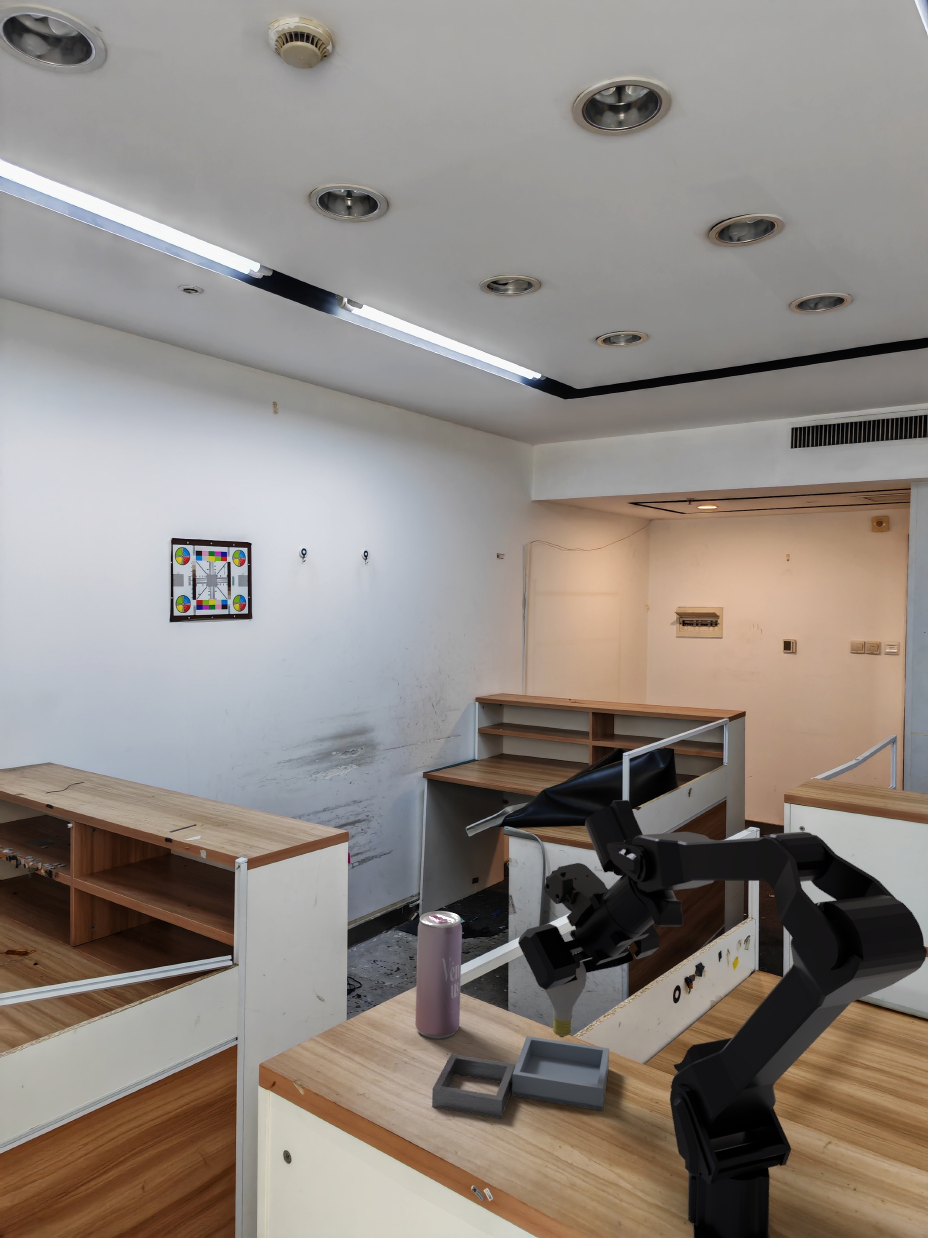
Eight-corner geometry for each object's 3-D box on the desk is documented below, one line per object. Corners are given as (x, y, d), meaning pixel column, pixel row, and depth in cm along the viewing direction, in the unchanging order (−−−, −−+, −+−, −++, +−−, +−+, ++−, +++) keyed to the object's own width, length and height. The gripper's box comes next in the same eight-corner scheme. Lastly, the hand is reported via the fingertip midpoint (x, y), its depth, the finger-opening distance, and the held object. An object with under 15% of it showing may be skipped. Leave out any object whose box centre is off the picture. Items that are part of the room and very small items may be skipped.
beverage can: (441, 1015, 114) (443, 907, 115) (468, 1031, 110) (471, 920, 110) (406, 1027, 111) (409, 916, 111) (433, 1045, 106) (436, 929, 106)
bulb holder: (514, 1081, 98) (515, 1064, 98) (501, 1119, 90) (501, 1100, 90) (450, 1070, 100) (451, 1054, 100) (432, 1106, 92) (432, 1089, 92)
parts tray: (608, 1069, 101) (609, 1048, 101) (602, 1111, 92) (602, 1089, 92) (526, 1056, 104) (526, 1036, 104) (512, 1096, 95) (512, 1074, 95)
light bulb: (583, 1050, 95) (586, 963, 95) (537, 1044, 96) (539, 958, 96) (585, 1029, 100) (588, 946, 100) (541, 1023, 101) (543, 942, 101)
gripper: (642, 837, 101) (576, 903, 110) (531, 859, 90) (467, 931, 98) (694, 918, 95) (620, 982, 103) (582, 953, 83) (509, 1022, 92)
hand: (555, 976), depth 99 cm, fingers closed on light bulb, 5 cm apart
